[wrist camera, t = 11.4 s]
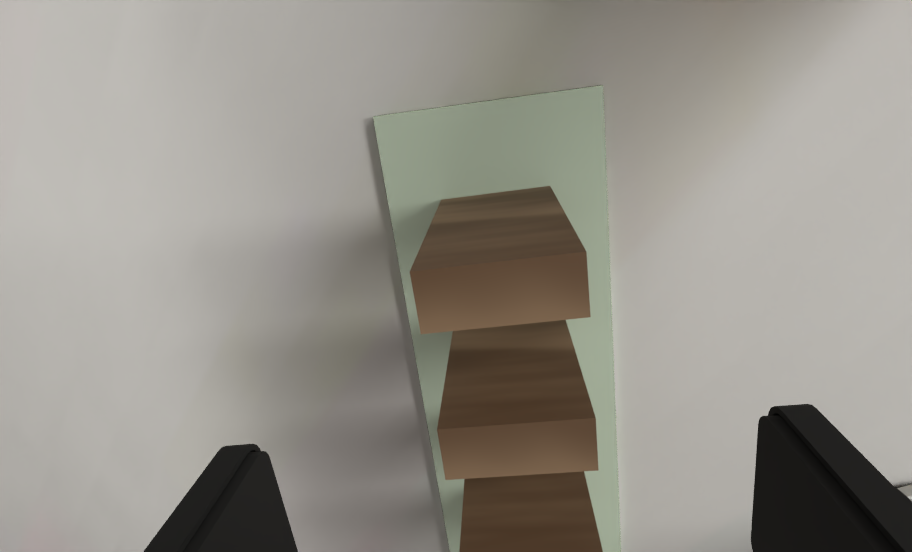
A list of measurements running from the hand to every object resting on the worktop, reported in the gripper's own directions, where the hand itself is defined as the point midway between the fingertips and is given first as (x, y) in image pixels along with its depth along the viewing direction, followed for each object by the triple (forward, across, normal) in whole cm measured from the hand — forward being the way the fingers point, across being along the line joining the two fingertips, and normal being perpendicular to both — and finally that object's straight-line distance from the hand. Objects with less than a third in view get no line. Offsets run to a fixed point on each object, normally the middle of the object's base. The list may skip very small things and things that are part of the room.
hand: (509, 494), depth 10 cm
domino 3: (+22, 0, +13) cm, 25 cm away
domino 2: (+22, 0, +6) cm, 22 cm away
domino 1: (+22, 0, 0) cm, 22 cm away
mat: (+22, 0, +13) cm, 26 cm away
